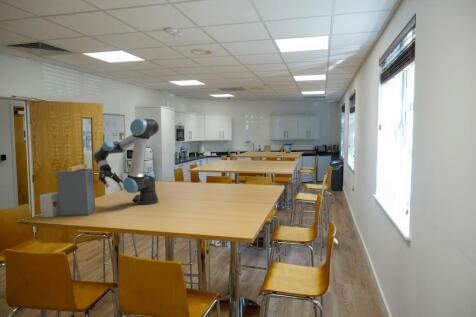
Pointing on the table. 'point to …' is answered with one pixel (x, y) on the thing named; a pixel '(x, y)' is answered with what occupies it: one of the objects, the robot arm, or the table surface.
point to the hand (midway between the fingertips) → (115, 188)
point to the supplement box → (50, 204)
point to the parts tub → (76, 192)
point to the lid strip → (76, 167)
